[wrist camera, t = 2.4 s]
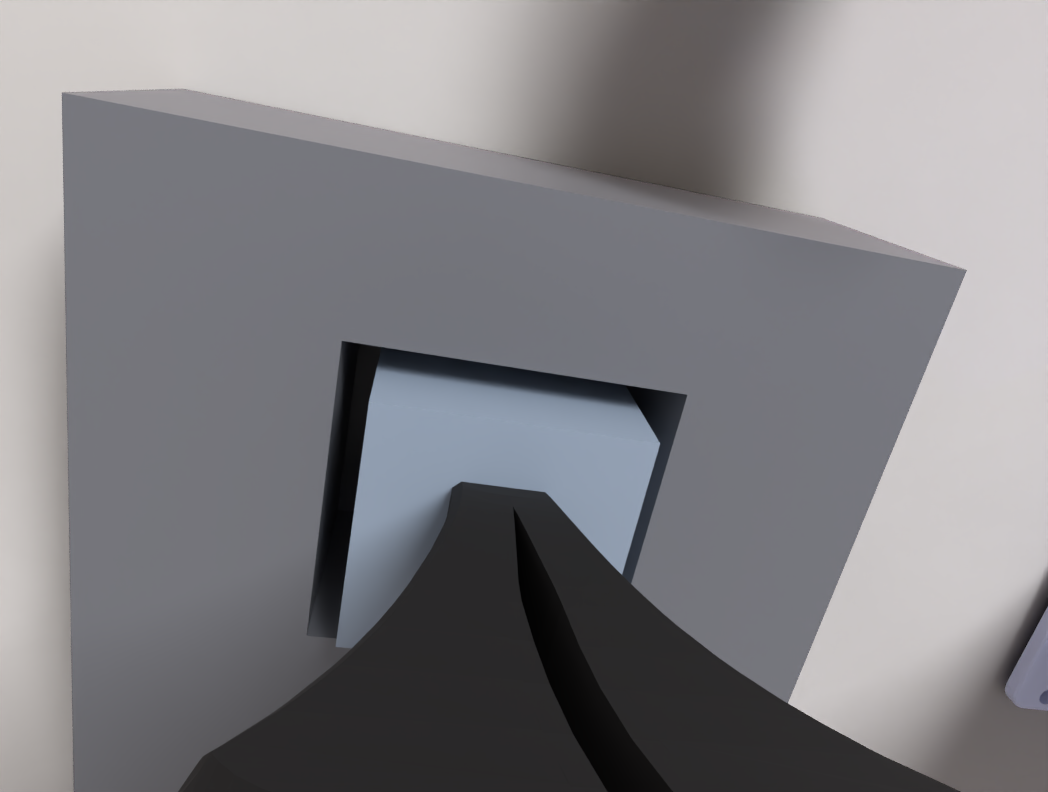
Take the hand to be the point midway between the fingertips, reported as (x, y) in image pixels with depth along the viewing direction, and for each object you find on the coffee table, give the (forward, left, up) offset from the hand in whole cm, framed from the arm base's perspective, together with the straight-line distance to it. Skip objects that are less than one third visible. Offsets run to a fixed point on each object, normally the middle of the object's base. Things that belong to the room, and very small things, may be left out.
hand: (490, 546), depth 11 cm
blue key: (0, 0, -3) cm, 3 cm away
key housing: (0, +7, -5) cm, 9 cm away
